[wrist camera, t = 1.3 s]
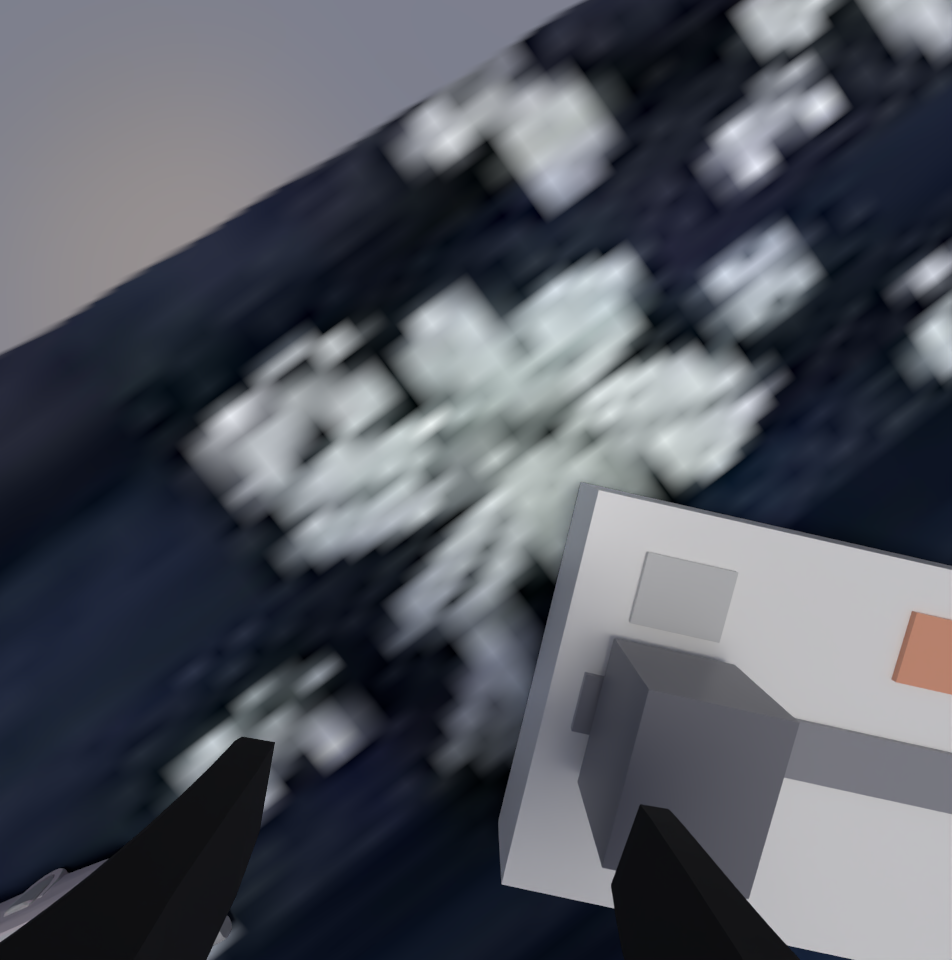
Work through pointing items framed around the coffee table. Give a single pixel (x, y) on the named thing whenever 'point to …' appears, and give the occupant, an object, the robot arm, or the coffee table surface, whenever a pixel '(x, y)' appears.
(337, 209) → the coffee table surface
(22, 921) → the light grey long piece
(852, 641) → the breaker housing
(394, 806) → the coffee table surface
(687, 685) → the switch lever
